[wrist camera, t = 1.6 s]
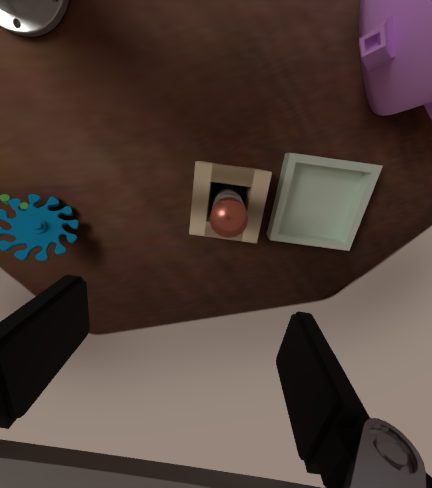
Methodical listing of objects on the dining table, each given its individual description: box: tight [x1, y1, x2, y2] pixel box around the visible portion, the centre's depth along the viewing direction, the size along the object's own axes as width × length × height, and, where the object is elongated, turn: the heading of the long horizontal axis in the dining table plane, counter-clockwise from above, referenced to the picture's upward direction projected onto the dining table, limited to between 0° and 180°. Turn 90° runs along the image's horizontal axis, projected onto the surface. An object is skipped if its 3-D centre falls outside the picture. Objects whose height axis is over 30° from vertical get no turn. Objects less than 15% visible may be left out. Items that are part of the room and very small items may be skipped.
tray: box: [267, 153, 383, 251], centre depth 31 cm, size 12×12×2 cm
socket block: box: [189, 161, 272, 243], centre depth 29 cm, size 9×9×6 cm
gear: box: [0, 194, 79, 261], centre depth 33 cm, size 11×6×10 cm
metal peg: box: [210, 185, 248, 238], centre depth 26 cm, size 4×4×13 cm
